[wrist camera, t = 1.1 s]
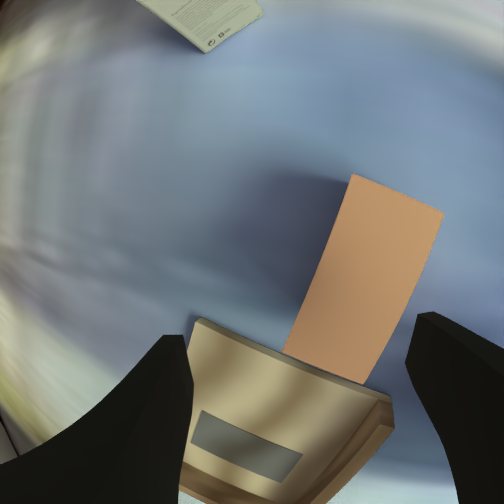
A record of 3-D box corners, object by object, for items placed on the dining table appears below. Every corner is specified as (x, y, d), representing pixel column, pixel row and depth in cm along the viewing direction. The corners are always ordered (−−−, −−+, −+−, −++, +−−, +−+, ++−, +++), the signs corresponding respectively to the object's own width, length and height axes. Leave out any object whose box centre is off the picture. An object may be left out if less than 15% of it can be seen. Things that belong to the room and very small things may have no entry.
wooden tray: (390, 396, 20) (394, 428, 17) (297, 508, 25) (289, 534, 21) (201, 317, 24) (175, 336, 20) (164, 449, 28) (145, 470, 25)
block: (412, 209, 18) (444, 213, 12) (360, 331, 20) (363, 384, 14) (350, 183, 19) (352, 173, 13) (302, 307, 21) (281, 352, 15)
